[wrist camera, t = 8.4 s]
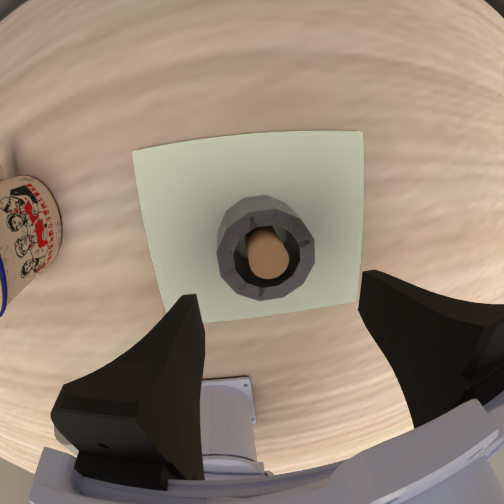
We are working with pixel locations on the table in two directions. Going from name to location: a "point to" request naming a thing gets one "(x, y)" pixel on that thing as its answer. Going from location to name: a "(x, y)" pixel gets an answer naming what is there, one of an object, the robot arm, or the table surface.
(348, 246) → the pegged green plate
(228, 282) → the collar
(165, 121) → the table surface
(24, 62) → the table surface
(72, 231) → the table surface
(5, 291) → the teacup with lid
